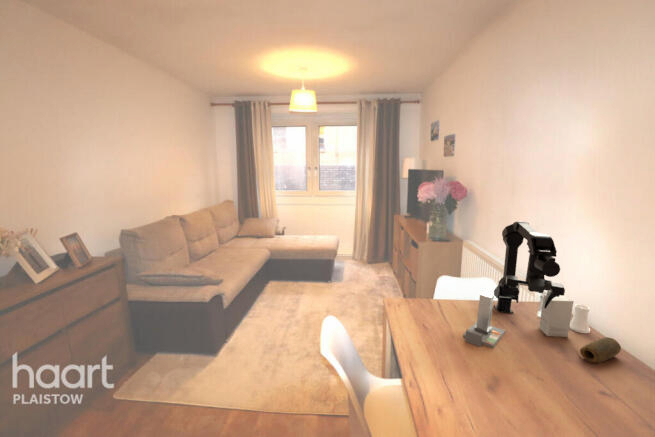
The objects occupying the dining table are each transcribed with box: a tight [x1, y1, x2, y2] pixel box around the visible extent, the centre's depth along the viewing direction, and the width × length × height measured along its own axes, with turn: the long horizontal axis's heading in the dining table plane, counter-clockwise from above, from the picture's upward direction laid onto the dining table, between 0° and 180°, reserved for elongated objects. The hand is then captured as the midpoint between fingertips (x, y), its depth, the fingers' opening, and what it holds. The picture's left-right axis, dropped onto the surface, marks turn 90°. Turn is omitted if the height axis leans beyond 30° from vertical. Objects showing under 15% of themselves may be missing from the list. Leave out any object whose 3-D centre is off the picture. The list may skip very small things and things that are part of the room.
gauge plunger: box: [474, 291, 500, 335], centre depth 126 cm, size 5×9×15 cm, turn 47°
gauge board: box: [462, 321, 506, 349], centre depth 126 cm, size 19×11×4 cm, turn 137°
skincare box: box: [538, 293, 574, 338], centre depth 129 cm, size 8×7×16 cm
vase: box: [569, 303, 591, 334], centre depth 133 cm, size 8×8×10 cm
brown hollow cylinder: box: [580, 336, 622, 364], centre depth 113 cm, size 15×7×7 cm, turn 118°
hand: (530, 305), depth 124 cm, fingers open, 9 cm apart
